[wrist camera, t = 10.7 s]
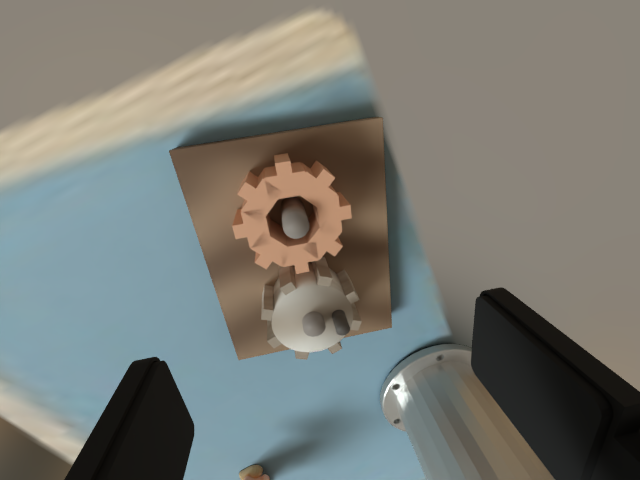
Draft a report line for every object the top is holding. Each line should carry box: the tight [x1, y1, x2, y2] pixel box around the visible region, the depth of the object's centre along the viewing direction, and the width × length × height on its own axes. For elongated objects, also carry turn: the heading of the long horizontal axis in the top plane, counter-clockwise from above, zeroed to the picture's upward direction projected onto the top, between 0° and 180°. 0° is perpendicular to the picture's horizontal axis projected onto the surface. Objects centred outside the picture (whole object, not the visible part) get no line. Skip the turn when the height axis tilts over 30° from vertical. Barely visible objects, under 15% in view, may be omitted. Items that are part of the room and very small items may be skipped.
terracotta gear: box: [232, 153, 352, 274], centre depth 20 cm, size 7×7×3 cm
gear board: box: [169, 117, 392, 360], centre depth 22 cm, size 18×14×6 cm
